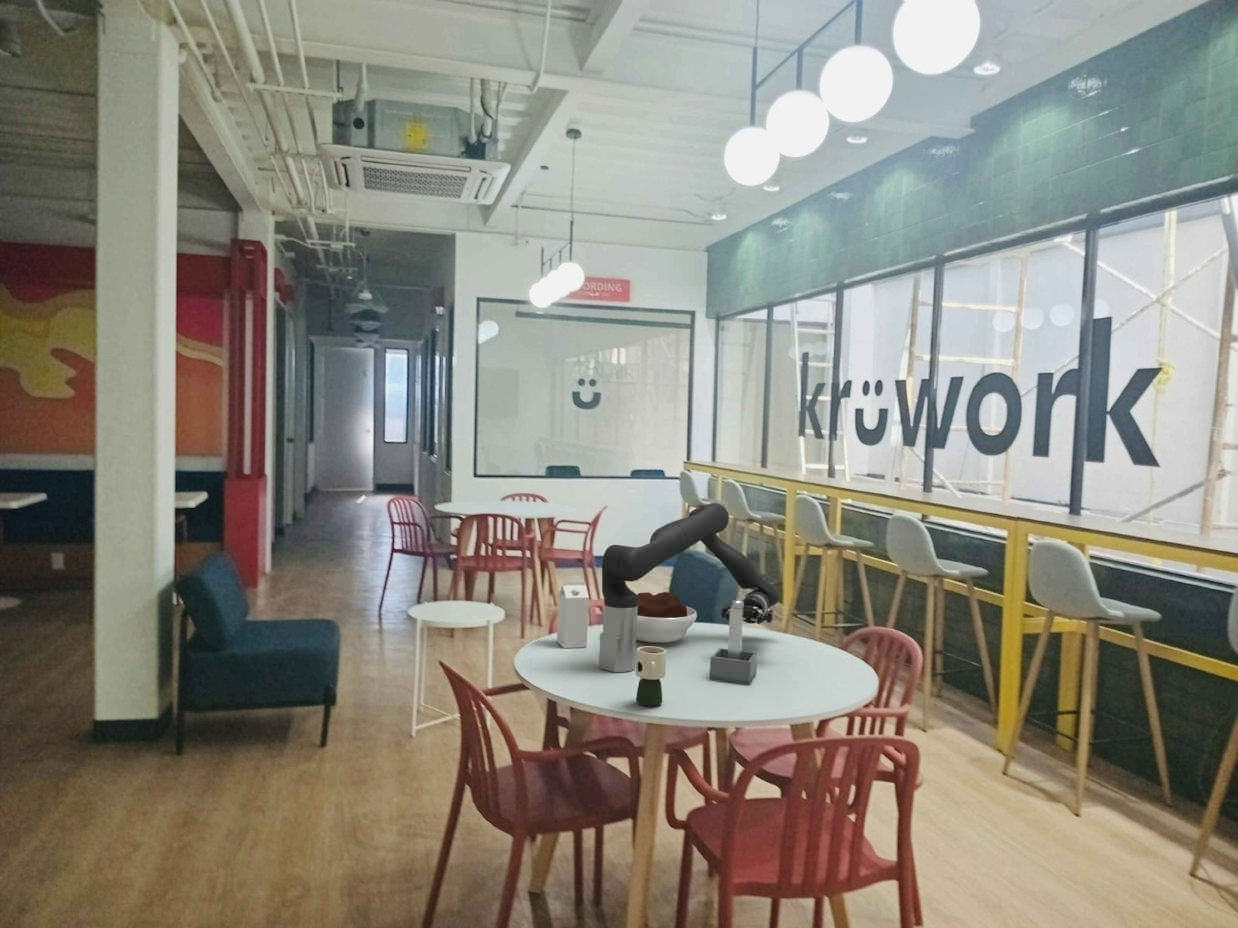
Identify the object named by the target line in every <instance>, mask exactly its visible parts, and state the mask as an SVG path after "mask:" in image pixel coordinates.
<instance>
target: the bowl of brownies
mask: <svg viewBox="0 0 1238 928" xmlns="http://www.w3.org/2000/svg"><path fill="white" fill-rule="evenodd" d="M636 595H637V596H638V615H637V636H636V641H637V640H638V641H641V642H647V643H651V644H664V643H672V642H677V641H680V640H682V639H683V638H684V637H685V635H686V633H687V631H688V629H689V628H690V627H692V625H694V622H695V621H696V619H697V617H698V613H697V611H696V610H695V609H694V608H692V607H689V606H687V605H684V604H682V602H680V599H679V597H678V596H677V595H675V594H671V593H670V592H668V591H662V592H658V593H656V594H654V595H653V594H652V592H639V593H636Z"/></svg>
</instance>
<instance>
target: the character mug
mask: <svg viewBox="0 0 1238 928" xmlns="http://www.w3.org/2000/svg"><path fill="white" fill-rule="evenodd" d="M666 668H667V650H666V649H665V648H663V647H660V646H654V645H653V646H652V645H650V646H649V645H648V646H647V645H646V646H645V645H644V646H639V647H636V657H635V676H637V677H638V678H640V679H639V681H638V685H637V690H636V691H637V692H636V698H635V700H636V703H637V704H639V705H642V706H643V705H644V706H645V705H646V706H649V707H651V706H652V705H660V704H662V703H663V689H662V682H661V679H664V678H665V676H666Z"/></svg>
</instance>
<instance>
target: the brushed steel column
mask: <svg viewBox="0 0 1238 928" xmlns="http://www.w3.org/2000/svg"><path fill="white" fill-rule="evenodd" d="M729 605H730V621H729V624H728V627H729V628H728V641H727V642H728V644H727V645H728V646H727V649H728V658H729V659H737V660H741V651H742V645H743V644H742V643H743V622H744V621H743V608H744V601H742V600H736V599H730V602H729Z"/></svg>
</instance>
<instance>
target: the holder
mask: <svg viewBox="0 0 1238 928" xmlns="http://www.w3.org/2000/svg"><path fill="white" fill-rule="evenodd" d="M709 665H710V666H709V680H711V681H718V682H724V683H731V684H739V685H746V686H747V685H749V686H750V685H751V684H752V682H753V680H754V679H755V678H756V676H757V669H758V652H754V651H745V650H741V660H737V659H729V658H728V648H723V647H719V648H718V649H717V650H715V652H713V653H712V655H711V656H710V664H709Z"/></svg>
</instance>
